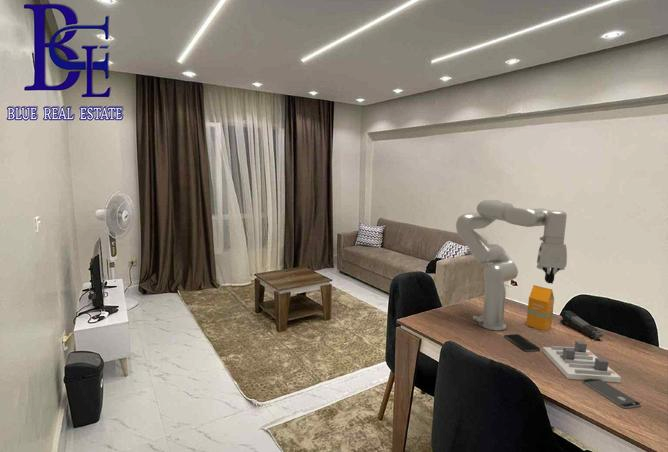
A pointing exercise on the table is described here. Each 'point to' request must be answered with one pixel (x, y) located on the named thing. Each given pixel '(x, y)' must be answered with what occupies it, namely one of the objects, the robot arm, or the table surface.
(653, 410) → the table surface
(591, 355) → the switch board
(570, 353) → the middle tab
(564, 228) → the robot arm
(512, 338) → the phone
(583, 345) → the far tab
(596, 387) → the phone
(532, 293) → the orange juice
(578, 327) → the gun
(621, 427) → the table surface
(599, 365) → the near tab
